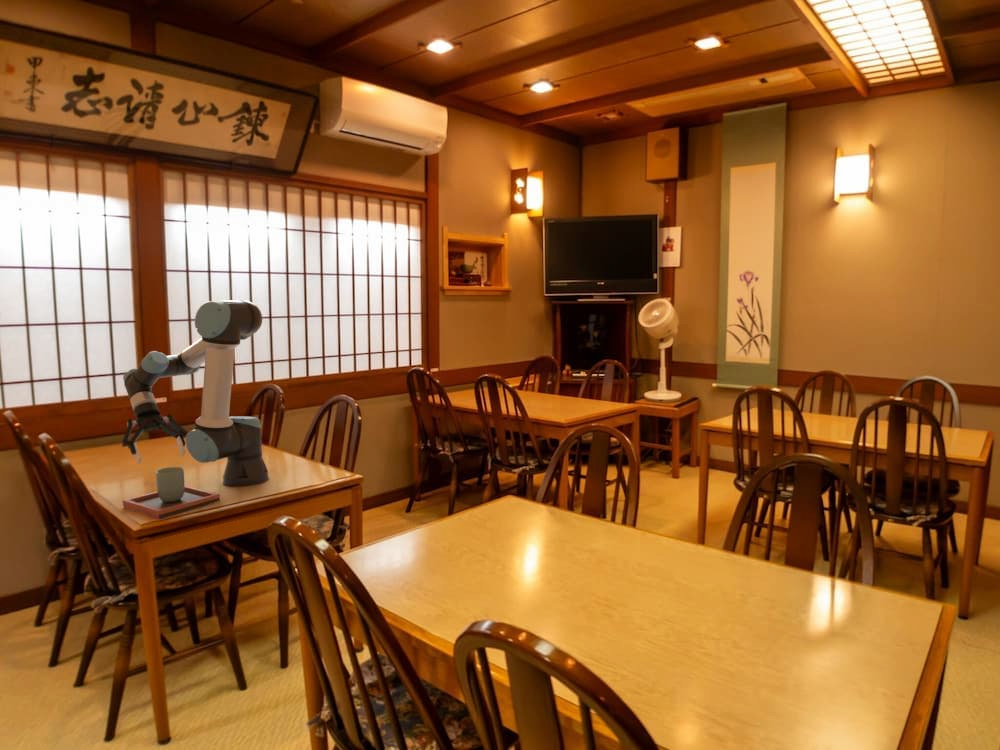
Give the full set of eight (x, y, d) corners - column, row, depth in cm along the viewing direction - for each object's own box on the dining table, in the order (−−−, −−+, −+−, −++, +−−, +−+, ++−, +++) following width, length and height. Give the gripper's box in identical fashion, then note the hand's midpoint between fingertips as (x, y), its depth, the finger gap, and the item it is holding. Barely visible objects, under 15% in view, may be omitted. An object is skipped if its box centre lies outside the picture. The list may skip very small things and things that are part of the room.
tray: (219, 501, 213) (219, 494, 213) (158, 519, 196) (158, 511, 196) (183, 491, 224) (183, 484, 224) (123, 507, 207) (122, 500, 207)
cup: (190, 497, 213) (188, 467, 212) (176, 504, 206) (174, 473, 205) (167, 496, 214) (165, 466, 213) (152, 504, 207) (150, 473, 205)
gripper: (181, 409, 241) (198, 457, 232) (103, 419, 224) (118, 470, 215) (185, 396, 237) (202, 444, 228) (105, 405, 220) (121, 457, 211)
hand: (162, 457), depth 222 cm, fingers open, 13 cm apart
